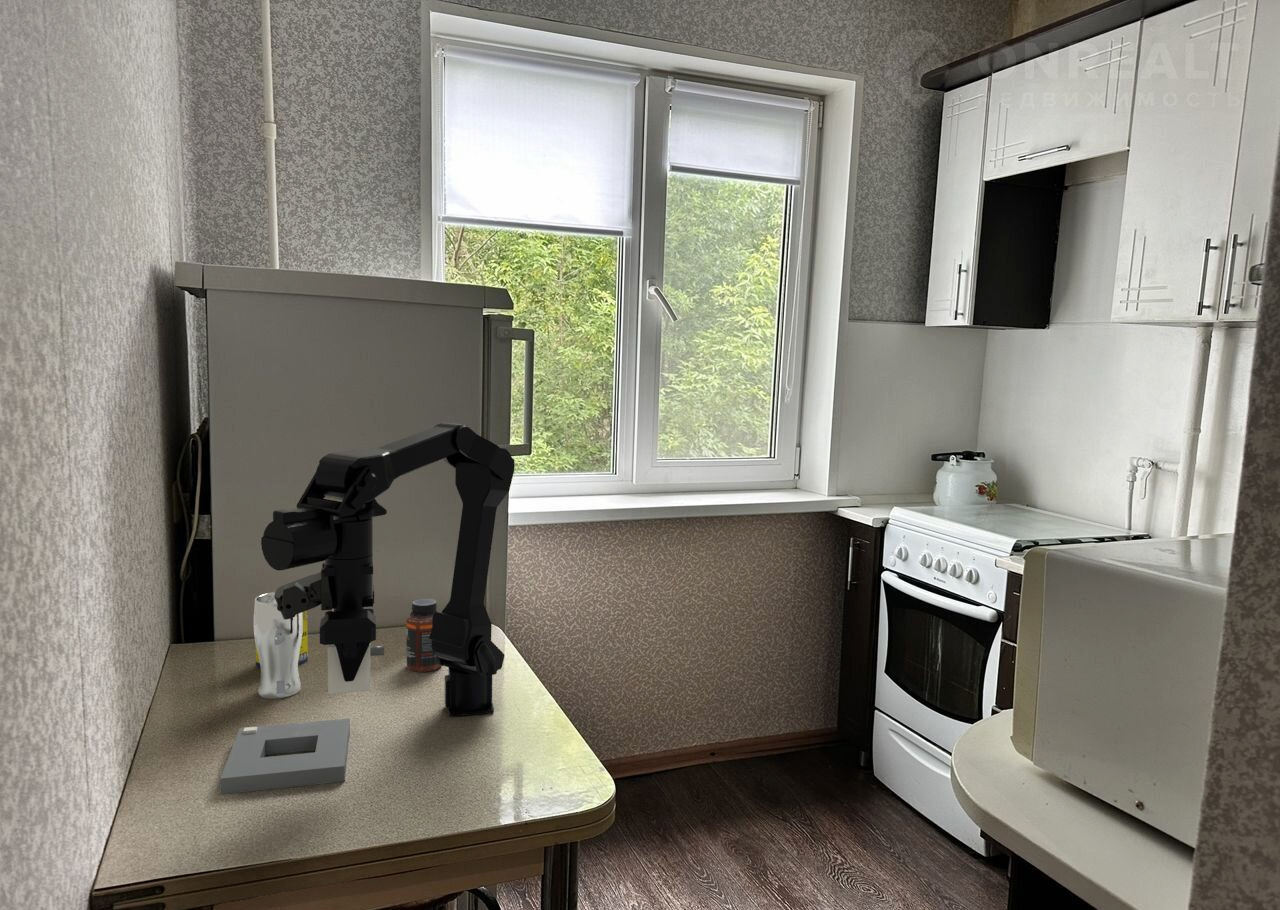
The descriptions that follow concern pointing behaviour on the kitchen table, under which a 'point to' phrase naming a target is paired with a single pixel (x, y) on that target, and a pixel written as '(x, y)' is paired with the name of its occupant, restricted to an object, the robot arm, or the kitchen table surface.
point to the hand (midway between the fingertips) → (349, 675)
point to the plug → (362, 676)
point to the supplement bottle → (420, 636)
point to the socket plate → (287, 756)
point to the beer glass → (277, 648)
